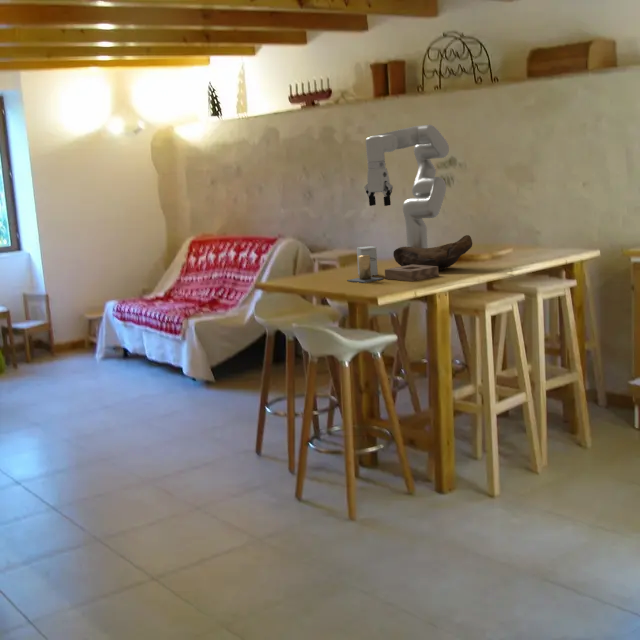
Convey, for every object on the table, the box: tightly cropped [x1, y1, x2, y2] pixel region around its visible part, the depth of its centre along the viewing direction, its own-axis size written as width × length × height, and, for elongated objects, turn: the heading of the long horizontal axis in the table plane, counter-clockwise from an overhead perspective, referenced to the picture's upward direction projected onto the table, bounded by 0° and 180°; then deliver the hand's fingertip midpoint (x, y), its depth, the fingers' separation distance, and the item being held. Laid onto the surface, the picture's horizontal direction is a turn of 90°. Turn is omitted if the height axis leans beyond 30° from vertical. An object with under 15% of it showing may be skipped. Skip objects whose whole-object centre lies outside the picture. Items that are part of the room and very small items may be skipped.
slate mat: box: [346, 276, 384, 284], centre depth 352 cm, size 11×11×1 cm
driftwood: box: [392, 234, 473, 271], centre depth 367 cm, size 37×18×15 cm, turn 45°
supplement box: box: [356, 245, 379, 277], centre depth 366 cm, size 7×7×13 cm
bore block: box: [384, 265, 439, 282], centre depth 350 cm, size 16×16×4 cm
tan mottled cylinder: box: [357, 255, 372, 280], centre depth 351 cm, size 5×5×10 cm
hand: (380, 205), depth 358 cm, fingers open, 9 cm apart
